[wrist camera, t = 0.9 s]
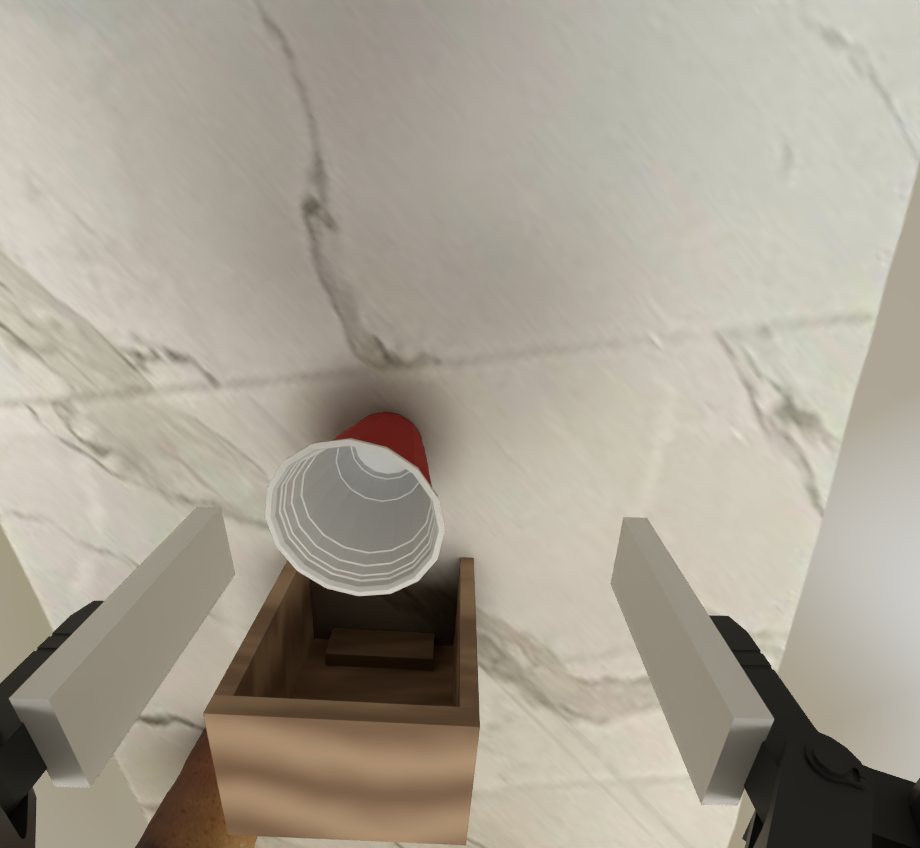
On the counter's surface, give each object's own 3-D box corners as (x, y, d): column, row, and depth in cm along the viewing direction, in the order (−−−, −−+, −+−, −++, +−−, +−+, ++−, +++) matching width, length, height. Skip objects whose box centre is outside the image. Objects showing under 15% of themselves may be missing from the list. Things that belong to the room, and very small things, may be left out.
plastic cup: (313, 378, 36) (245, 439, 24) (452, 382, 36) (447, 445, 25) (324, 498, 40) (270, 598, 28) (448, 502, 40) (443, 603, 28)
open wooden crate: (294, 548, 41) (203, 713, 27) (473, 558, 42) (479, 727, 27) (302, 646, 46) (228, 834, 31) (464, 655, 46) (465, 845, 32)
